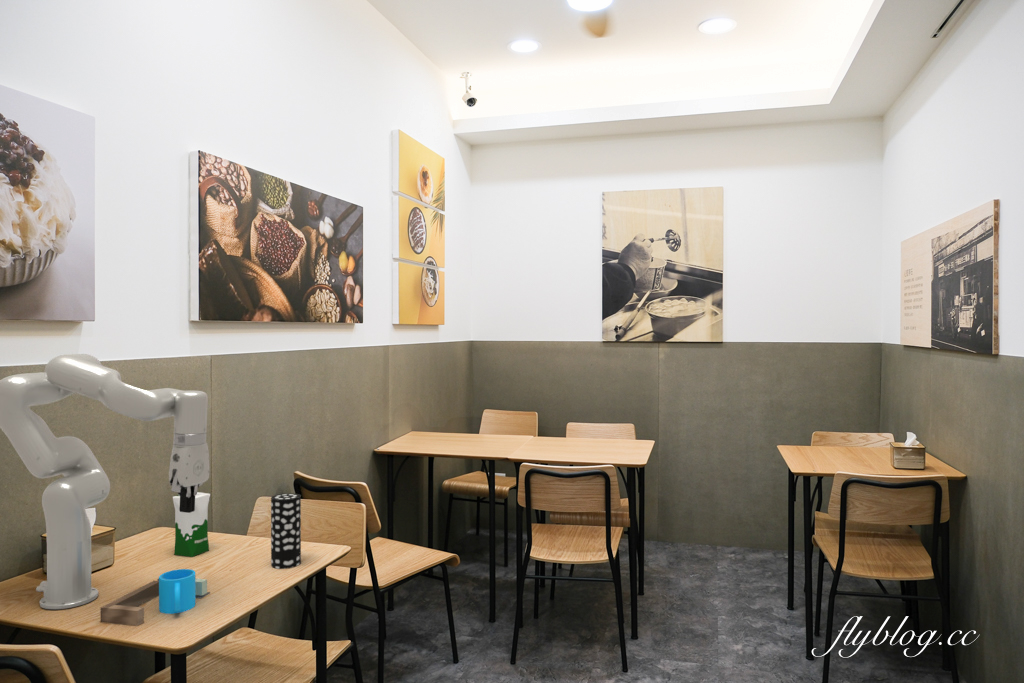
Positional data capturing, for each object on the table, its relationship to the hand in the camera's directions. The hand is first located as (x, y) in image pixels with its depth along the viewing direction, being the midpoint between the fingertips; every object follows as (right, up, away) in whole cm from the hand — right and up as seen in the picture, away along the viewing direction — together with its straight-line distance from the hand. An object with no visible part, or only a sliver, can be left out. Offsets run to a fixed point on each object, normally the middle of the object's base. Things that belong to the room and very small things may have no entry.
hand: (187, 511), depth 174 cm
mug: (0, -23, -5) cm, 24 cm away
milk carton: (-17, -23, +39) cm, 48 cm away
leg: (-3, -22, +5) cm, 23 cm away
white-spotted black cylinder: (+16, -23, +29) cm, 40 cm away
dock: (-6, -23, -3) cm, 24 cm away
